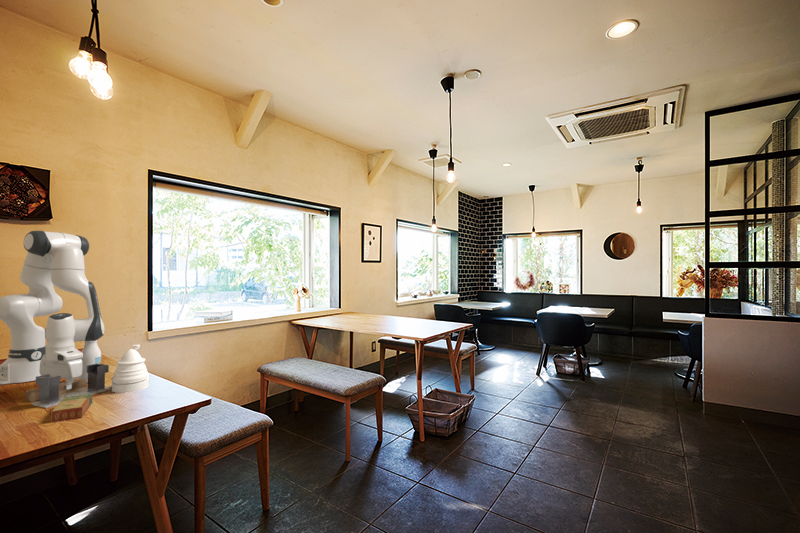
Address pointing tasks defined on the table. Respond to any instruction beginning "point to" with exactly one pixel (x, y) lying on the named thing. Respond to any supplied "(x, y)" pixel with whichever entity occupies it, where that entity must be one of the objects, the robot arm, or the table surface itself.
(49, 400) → the bracket stand
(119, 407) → the table surface
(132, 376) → the honey pot
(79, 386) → the rail
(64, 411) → the carton
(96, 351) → the milk bottle
